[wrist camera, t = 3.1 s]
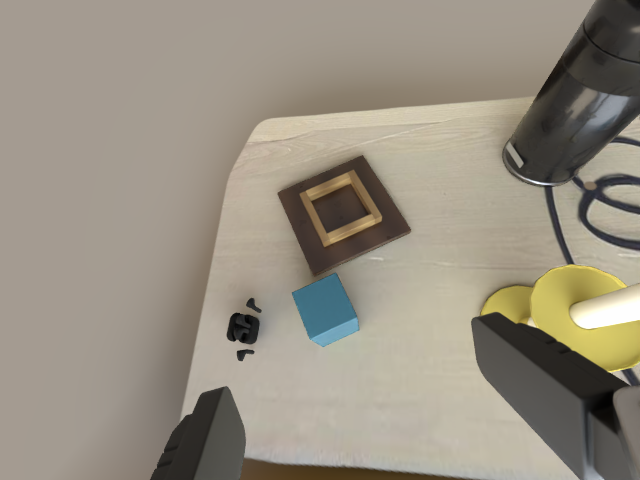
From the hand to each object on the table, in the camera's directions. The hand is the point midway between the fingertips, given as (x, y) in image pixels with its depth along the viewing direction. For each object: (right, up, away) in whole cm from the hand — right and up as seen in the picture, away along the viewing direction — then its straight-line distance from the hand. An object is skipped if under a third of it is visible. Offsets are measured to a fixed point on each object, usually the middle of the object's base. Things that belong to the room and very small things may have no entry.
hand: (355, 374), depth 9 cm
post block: (0, -5, +27) cm, 27 cm away
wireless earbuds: (-10, -7, +28) cm, 30 cm away
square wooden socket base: (+2, +8, +33) cm, 34 cm away
